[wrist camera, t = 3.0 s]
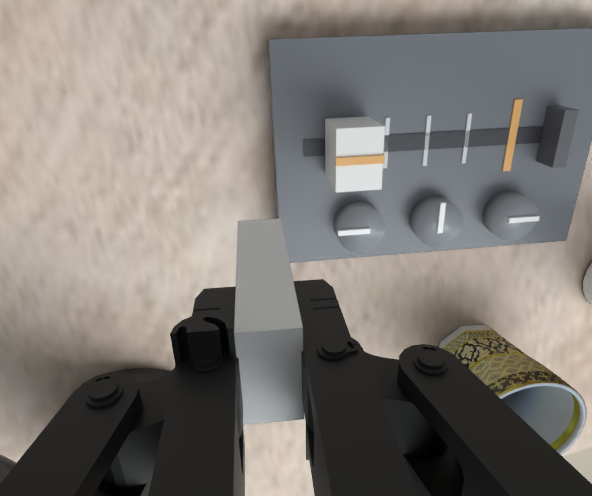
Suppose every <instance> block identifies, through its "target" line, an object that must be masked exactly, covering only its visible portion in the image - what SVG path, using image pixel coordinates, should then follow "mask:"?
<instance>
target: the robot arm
mask: <svg viewBox="0 0 592 496" xmlns="http://www.w3.org/2000/svg"><path fill="white" fill-rule="evenodd" d="M170 336H171V341H172V347H173V353H174V359H175V364H176V365H175V368H174V369H173V370H172V371H170V372H167V371H162V370H155V369H129V370H122V371H117V372H113V373H106V374H103V375H100V376H96V377H94V378H92V379H91V380H89V381H87V382H85V383H83V384H82V385H81V386H80V387H79V388H78V389H77V390H76V391H75V392H74V393H73V394H72V395H71V397H70V398H69V399H68V400H67V402H66V403H65V404H64V405H63V406H62V408H61V409H60V410H59V411H58V413H57V414H56V415H55V416H54V418H53V419H52V420H51V421H50V423H49V424H48V425H47V426H46V428H45V429H44V430H43V431H42V432H41V434H40V435H39V436H38V437H37V439H36V440H35V441H34V442H33V444H32V445H31V446H30V447H29V449H28V450H27V451H26V452H25V453H24V455H23V456H22V457H21V458H20V460H19V461H18V462H17V463H15V462H14V461H12V460H10V459H8V458H6V457H4V456H2V455H0V496H245V444H244V433H243V425H248V424H258V423H268V422H279V421H289V420H299V419H304V413H305V419H306V460H310V467H311V474H312V480H313V487H314V493H315V496H592V484H591V483H590V482H589V481H587V479H585V477H583V476H582V475H581V474H580V473H579V472H578V471H577V470H576V469H575V468H574V467H573V466H572V465H571V464H570V463H569V462H567V461H566V460H565V459H564V458H563V457H562V456H561V455H560V454H559V453H558V452H557V451H556V450H555V449H554V448H553V447H552V446H550V445H549V444H548V443H547V442H546V441H545V440H544V439H543V438H542V437H541V436H540V435H539V434H538V433H537V432H536V431H535V430H533V429H532V428H531V427H530V426H529V425H528V424H527V423H526V422H525V421H524V420H523V419H522V418H521V417H520V416H519V415H518V414H516V413H515V412H514V411H513V410H512V409H511V408H510V407H509V406H508V405H507V404H506V403H505V402H504V401H503V400H502V399H500V398H499V397H498V396H497V395H496V394H495V393H494V392H493V391H492V390H491V389H490V388H489V387H488V386H487V385H486V384H485V383H483V382H482V381H481V380H480V379H479V378H478V377H477V376H476V375H475V374H474V373H473V372H472V371H471V370H470V369H469V368H468V367H466V366H465V365H464V364H463V363H462V362H461V361H460V360H459V359H458V358H457V357H456V356H454V355H453V354H452V353H450V352H449V351H447V350H445V349H442V348H440V347H437V346H432V345H425V344H422V345H413V346H411V347H409V348H406V349H404V351H403V352H402V353H401V354H400V357H399V360H397V359H390V358H382V357H378V356H374V355H371V354H368V353H366V352H364V351H363V348H362V347H361V346H360V344H359V343H358V341H356V340H354V339H353V338H351V337H350V334H349V331H348V328H347V325H346V323H345V320H344V317H343V314H342V312H341V309H340V307H339V303H338V301H337V299H336V295H335V292H334V289H333V287H332V286H330V285H329V284H328V283H327V282H326V281H324V280H323V279H320V280H306V281H293V277H292V272H291V267H290V262H289V258H288V253H287V248H286V243H285V238H284V233H283V228H282V223H281V219H263V220H245V221H238V237H237V265H236V287H224V288H210V289H204V290H203V291H202V292H201V293H200V294H199V295H198V296H197V298H196V299H195V304H194V309H193V314H192V317H189V318H187V319H184V320H182V321H181V322H180V323H178V324H177V325H176V326H174V328H173V330H172V332H171V333H170Z"/></svg>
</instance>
